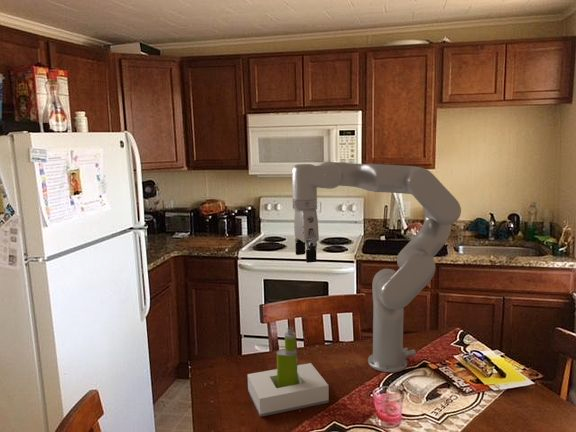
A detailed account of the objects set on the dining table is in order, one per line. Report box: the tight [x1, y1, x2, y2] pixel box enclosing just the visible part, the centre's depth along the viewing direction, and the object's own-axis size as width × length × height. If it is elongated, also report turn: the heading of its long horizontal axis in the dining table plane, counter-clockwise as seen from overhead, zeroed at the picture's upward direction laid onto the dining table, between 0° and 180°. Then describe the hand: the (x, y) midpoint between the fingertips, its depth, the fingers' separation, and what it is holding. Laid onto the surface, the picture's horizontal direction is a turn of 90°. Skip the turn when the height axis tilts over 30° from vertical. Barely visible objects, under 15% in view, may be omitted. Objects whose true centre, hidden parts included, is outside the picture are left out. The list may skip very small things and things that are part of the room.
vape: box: [276, 326, 299, 388], centre depth 138 cm, size 4×6×20 cm, turn 81°
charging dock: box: [247, 362, 330, 417], centre depth 139 cm, size 20×14×5 cm
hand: (305, 258), depth 151 cm, fingers open, 9 cm apart
